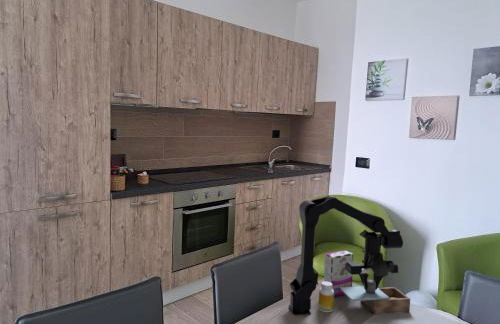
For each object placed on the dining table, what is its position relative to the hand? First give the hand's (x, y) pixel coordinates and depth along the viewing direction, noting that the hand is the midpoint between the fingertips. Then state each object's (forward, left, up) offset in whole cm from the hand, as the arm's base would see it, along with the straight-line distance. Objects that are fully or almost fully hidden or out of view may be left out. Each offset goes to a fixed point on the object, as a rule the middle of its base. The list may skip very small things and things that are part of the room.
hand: (370, 289), depth 130 cm
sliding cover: (-2, 0, -1) cm, 3 cm away
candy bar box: (-7, +13, -7) cm, 16 cm away
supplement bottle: (-17, 0, -7) cm, 18 cm away
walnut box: (+6, 0, -7) cm, 9 cm away
